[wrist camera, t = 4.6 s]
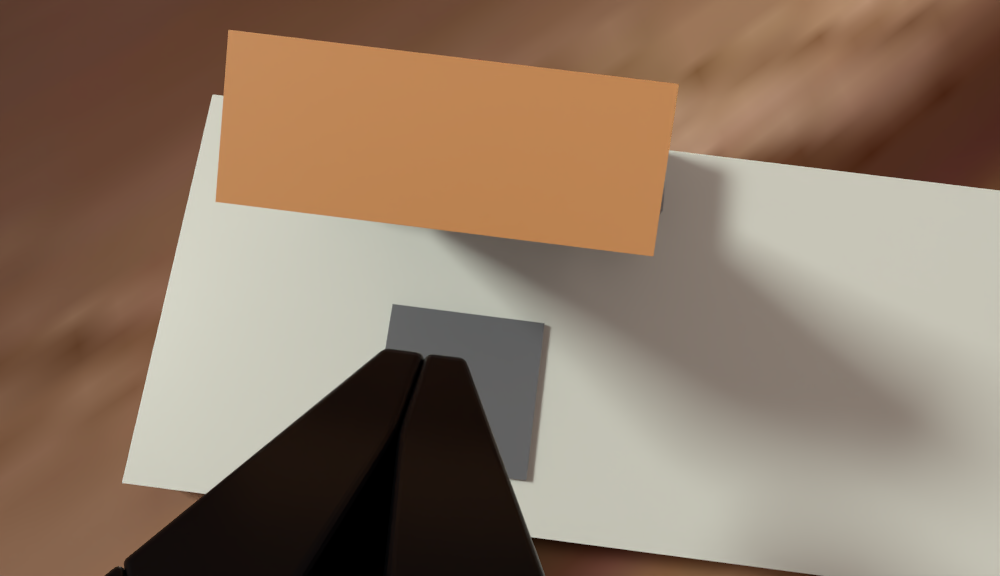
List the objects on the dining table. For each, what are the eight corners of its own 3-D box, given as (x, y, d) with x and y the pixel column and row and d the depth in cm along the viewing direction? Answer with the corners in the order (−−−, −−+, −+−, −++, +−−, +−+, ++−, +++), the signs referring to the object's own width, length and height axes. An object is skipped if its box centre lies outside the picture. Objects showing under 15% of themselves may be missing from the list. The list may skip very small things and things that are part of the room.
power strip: (1385, 643, 15) (1625, 692, 12) (156, 480, 16) (69, 485, 12) (1336, 260, 17) (1534, 212, 14) (235, 125, 17) (177, 49, 14)
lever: (586, 225, 15) (653, 256, 7) (379, 199, 15) (215, 201, 7) (596, 145, 15) (678, 84, 7) (387, 119, 15) (228, 29, 7)
